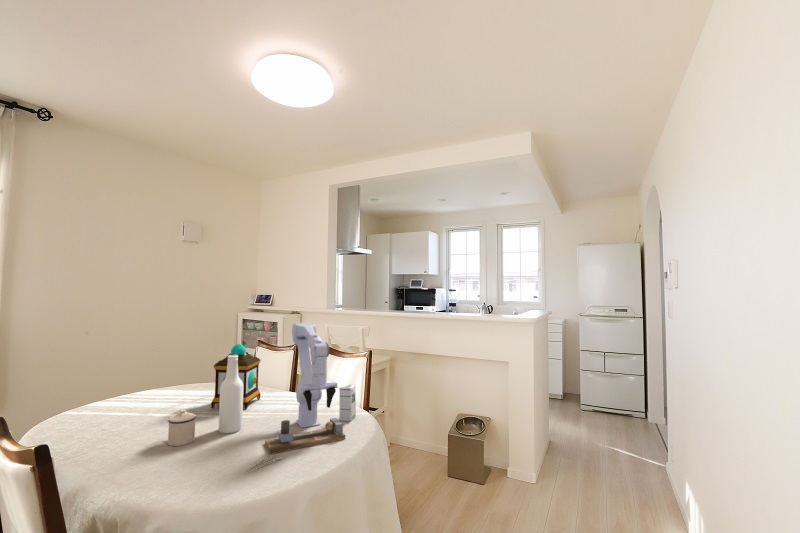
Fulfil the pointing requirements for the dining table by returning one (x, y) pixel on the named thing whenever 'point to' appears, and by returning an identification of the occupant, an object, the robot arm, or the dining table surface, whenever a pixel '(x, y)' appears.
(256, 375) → the decorative lantern
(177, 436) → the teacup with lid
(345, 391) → the syrup box
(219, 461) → the dining table surface
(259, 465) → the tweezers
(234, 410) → the alcohol
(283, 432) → the handle
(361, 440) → the dining table surface
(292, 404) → the dining table surface
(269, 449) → the press bench
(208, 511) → the dining table surface
